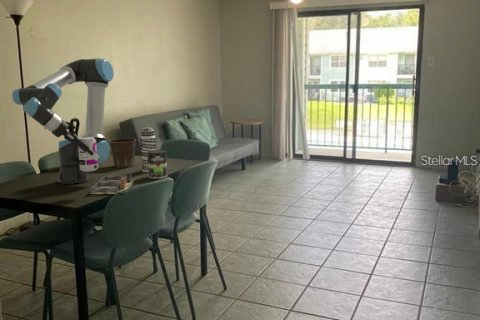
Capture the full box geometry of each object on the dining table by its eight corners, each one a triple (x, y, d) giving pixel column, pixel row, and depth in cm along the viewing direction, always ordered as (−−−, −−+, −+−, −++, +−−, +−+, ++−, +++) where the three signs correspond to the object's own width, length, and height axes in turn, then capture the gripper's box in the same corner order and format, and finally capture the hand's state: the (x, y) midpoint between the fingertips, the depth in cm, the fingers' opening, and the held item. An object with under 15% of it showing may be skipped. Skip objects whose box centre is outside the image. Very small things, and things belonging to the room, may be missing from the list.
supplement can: (100, 167, 227) (97, 136, 224) (95, 171, 219) (92, 139, 216) (83, 168, 227) (80, 137, 224) (77, 171, 219) (74, 139, 216)
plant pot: (131, 169, 283) (130, 142, 280) (106, 168, 285) (104, 142, 282) (141, 163, 298) (140, 138, 296) (117, 163, 301) (115, 138, 298)
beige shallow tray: (89, 195, 224) (88, 182, 222) (104, 182, 250) (103, 170, 249) (124, 194, 224) (123, 181, 223) (134, 181, 251) (133, 169, 249)
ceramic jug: (74, 170, 283) (69, 120, 278) (55, 168, 290) (50, 119, 284) (94, 164, 298) (90, 117, 293) (75, 163, 305) (71, 116, 299)
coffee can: (168, 177, 257) (167, 152, 254) (149, 179, 254) (147, 153, 251) (166, 174, 266) (165, 149, 264) (147, 175, 264) (146, 150, 261)
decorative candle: (146, 173, 270) (143, 129, 266) (139, 170, 278) (136, 127, 273) (160, 170, 276) (158, 127, 271) (153, 168, 283) (151, 126, 278)
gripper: (46, 129, 220) (85, 159, 231) (54, 134, 203) (96, 167, 214) (57, 117, 222) (95, 147, 233) (66, 121, 204) (106, 154, 215)
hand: (95, 157), depth 223 cm, fingers closed on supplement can, 8 cm apart
